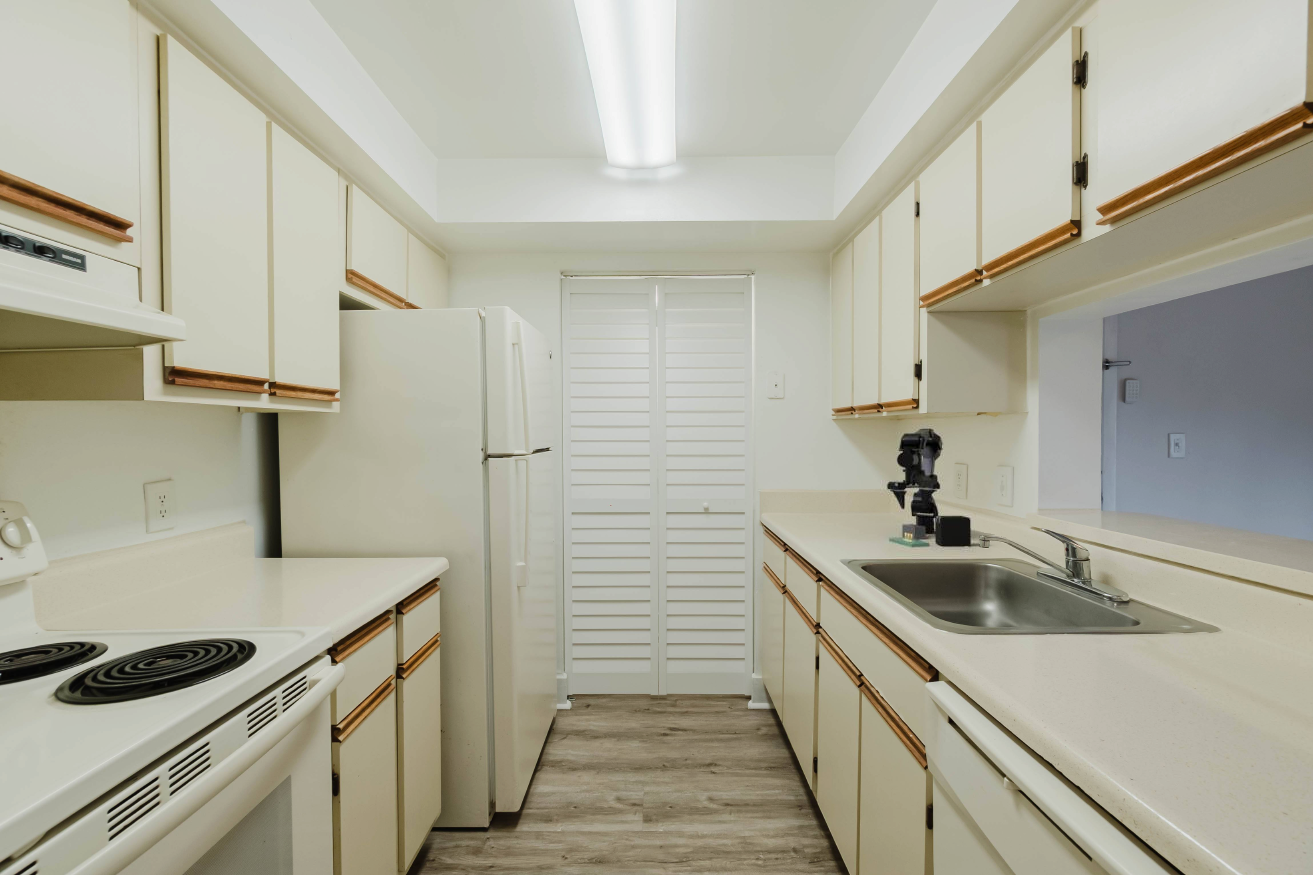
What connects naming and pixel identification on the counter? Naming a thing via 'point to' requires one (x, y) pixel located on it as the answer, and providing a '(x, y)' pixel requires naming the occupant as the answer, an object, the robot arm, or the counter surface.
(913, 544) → the header board
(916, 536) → the block
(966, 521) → the electronic device
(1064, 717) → the counter surface
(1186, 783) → the counter surface
